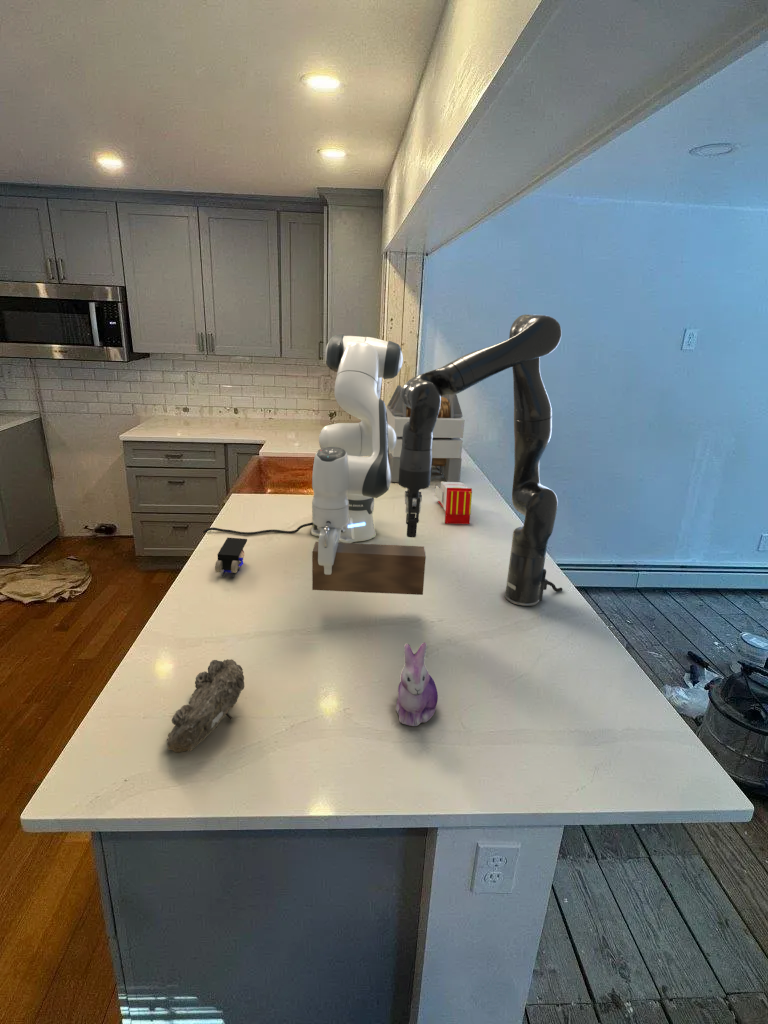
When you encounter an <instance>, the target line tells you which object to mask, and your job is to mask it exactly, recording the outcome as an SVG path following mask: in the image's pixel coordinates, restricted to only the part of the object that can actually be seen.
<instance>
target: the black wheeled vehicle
mask: <svg viewBox="0 0 768 1024" xmlns="http://www.w3.org/2000/svg"><path fill="white" fill-rule="evenodd" d="M247 542H248V538H240V537H226V539H225V541H224V543H223V544H222V546H221V547H220V549H219V551H218V552H217V560H216V562H215V564H214V572H215V573H221V577H222V578H224V577H225V576H226V574H227V573H230V574H231V573H232V574H231V578H234V577H235V575H236V573H237V572H239V571H240V567H242V566H243V565H244V564H245V562H244V558H245V551H244V547H245V546H246V544H247Z"/></svg>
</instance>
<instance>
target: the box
mask: <svg viewBox="0 0 768 1024" xmlns="http://www.w3.org/2000/svg"><path fill="white" fill-rule="evenodd" d="M318 542H319V541H315V542H314V545H313V549H312V551H311V556H312V559H311V561H312V562H311V565H312V566H311V567H312V568H311V569H312V570H311V571H312V573H311V576H312V577H311V579H312V580H311V583H312V586H311V587H312V588H311V589H312V591H326V592H327V591H329V592H348V593H349V592H350V593H371V594H373V593H374V594H393V595H395V594H396V595H413V596H414V595H416V596H417V595H418V596H423V595H424V586H425V585H424V583H425V573H426V572H425V571H426V559H427V556H426V548H425V546H422V545H421V546H419V545H400V544H399V545H397V544H377V543H357V542H353V543H343V542H338V547H337V551H336V555H335V560H334V564H333V565H332V573H331V574H330V575H326V574H324V566H322V565H319V564H318Z"/></svg>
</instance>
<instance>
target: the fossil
mask: <svg viewBox="0 0 768 1024" xmlns="http://www.w3.org/2000/svg"><path fill="white" fill-rule="evenodd" d="M243 670H244V669H243V667H242V665H240V664H237V662H236V661H235V660H234V659H232V658H231V659H227V658H226V659H224V660H223V661H222V660H217V659H212V660H211V661H210V663H209V665H208V666H207V671H201V672H199V673H198V674H197V675H196V676H195V680H194V684H195V685H194V687H195V689H194V690H193V693H192V694H191V697H190V698H189V700H188V704H184V705H182V706H181V707H180V709H177V710H176V711H175V713H174V715H173V716H172V718H171V723H172V724H173V727H172V730H171V731H170V732H168V734H167V738H166V741H167V742H166V745H167V749H168V750H169V751H173V752H174V753H176V754H178V753H182V752H188V751H189V752H192V751H193V750H195V748H196V747H197V746H199V744H200V743H201V742H203V741H204V740H205V739H206V738H207V737H208V736H209V735H210V734H211V733H212V732H214V730H215V729H217V727H218V726H219V724H220V722H221V721H222V720H223V719H224V718H225V716H226V717H227V719H229V720H233V717H232V715H230V714H229V710H230V709H231V708H234V706H235V704H236V703H237V702H238V699H239V697H240V695H241V693H242V691H243V690H245V689H244V688H245V675H244V671H243Z"/></svg>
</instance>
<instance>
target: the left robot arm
mask: <svg viewBox="0 0 768 1024" xmlns="http://www.w3.org/2000/svg"><path fill="white" fill-rule="evenodd" d="M324 355H325V356H324V357H325V362H326V366H327V367H328V368H329V369H330V370H331V371H333V372H335V373H336V377H335V382H334V390H333V391H334V398H335V399H334V400H335V401H336V403H337V405H338V406H339V408H341V409H342V410H343V411H344V412H345V413H347V414H348V415H350V416H352V417H354V418H356V419H358V420H360V422H337V423H332V424H328V425H325V426H324V427H322V429H321V430H320V432H319V435H318V444H319V447H320V449H318V450H317V451H316V452H315V454H314V458H313V459H314V460H313V466H312V476H311V487H312V491H313V498H312V501H311V522H307V523H303V524H302V525H299V526H297V528H296V529H293V530H281V529H264V530H258V531H249V532H248V531H238V530H232V529H224V528H218V527H208V528H207V527H206V528H205V529H204V530H203V531H202V533H203V534H206V533H207V532H209V531H217V532H223V533H230V534H236V535H244V536H250V535H251V536H252V535H259V534H266V533H280V534H296V533H297V532H299V531H300V530H301V529H302V528H305V527H310V526H312V528H311V530H310V533H311V536H315V537H318V541H317V542H318V564H319V565H322V566H324V574H326V575H330V574H331V573H332V565H333V564H334V560H335V555H336V551H337V547H338V543H357V542H365V541H368V540H372V539H373V538H375V537H376V535H377V532H376V528H375V523H374V513H373V512H374V509H375V499H378V498H380V497H381V496H383V495H384V494H386V493H387V492H388V491H389V490H390V487H391V485H392V484H391V483H392V482H391V470H390V465H389V453H391V452H392V451H393V449H394V448H395V445H396V441H397V438H396V433H395V431H394V429H393V428H392V427H391V426H390V425H389V424H388V422H387V405H386V403H385V401H384V400H383V399H381V394H382V383H383V380H390V379H394V378H396V377H397V376H398V374H399V372H400V371H401V369H402V366H403V363H404V356H403V351H402V347H401V346H400V345H399V343H397V342H395V341H392V340H388V341H387V340H385V339H384V340H383V339H380V338H376V337H372V336H371V337H370V336H358V335H345V334H335V335H333V336H332V337H330V338H329V340H328V342H327V344H326V346H325V350H324Z"/></svg>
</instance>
